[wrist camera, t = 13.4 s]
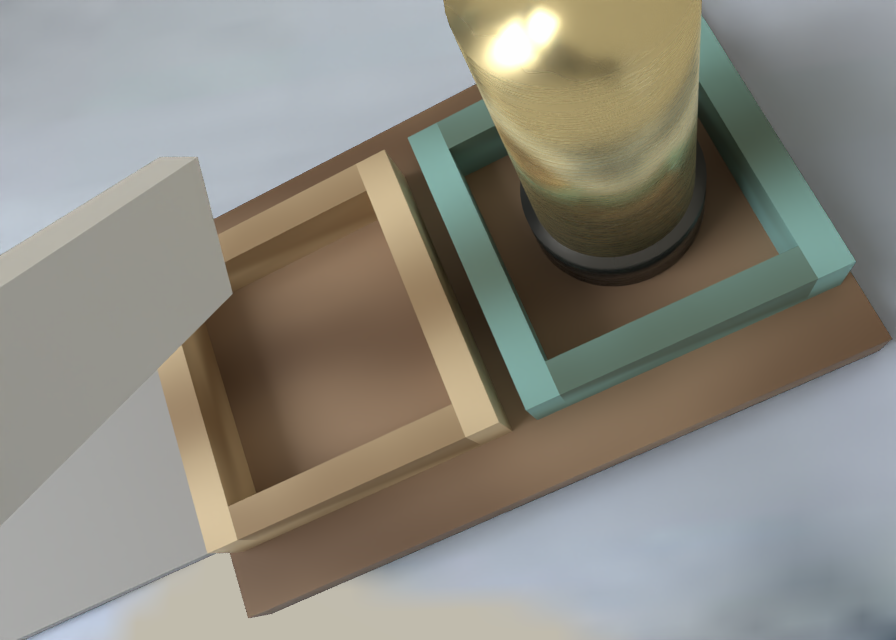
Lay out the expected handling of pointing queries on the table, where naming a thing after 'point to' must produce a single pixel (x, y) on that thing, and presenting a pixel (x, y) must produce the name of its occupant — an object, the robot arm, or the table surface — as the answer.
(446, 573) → the table surface
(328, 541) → the brown wooden flat tray
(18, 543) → the mat
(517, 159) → the gold metal cylinder
